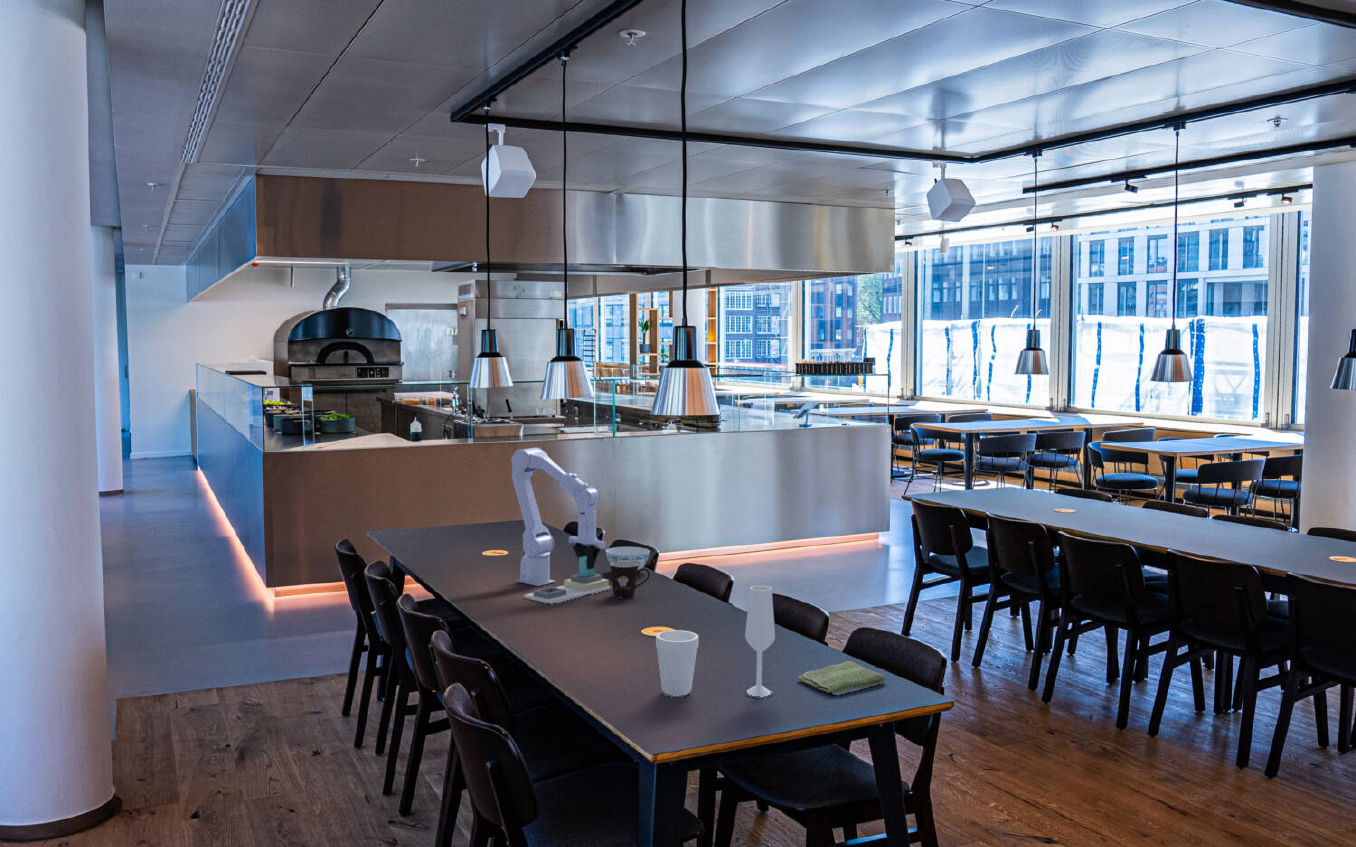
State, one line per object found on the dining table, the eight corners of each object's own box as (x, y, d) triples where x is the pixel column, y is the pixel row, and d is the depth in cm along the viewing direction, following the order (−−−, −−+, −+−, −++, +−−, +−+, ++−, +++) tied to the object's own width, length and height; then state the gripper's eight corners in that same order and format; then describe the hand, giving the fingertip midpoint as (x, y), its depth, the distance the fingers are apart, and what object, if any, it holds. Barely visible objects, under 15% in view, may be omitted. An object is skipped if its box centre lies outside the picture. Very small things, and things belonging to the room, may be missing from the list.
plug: (578, 575, 325) (578, 557, 324) (587, 573, 328) (587, 555, 328) (585, 577, 323) (585, 558, 323) (594, 575, 326) (594, 556, 326)
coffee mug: (604, 597, 316) (605, 565, 315) (619, 591, 324) (619, 560, 323) (637, 601, 311) (637, 569, 310) (651, 596, 318) (651, 564, 318)
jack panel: (524, 597, 313) (524, 583, 313) (584, 583, 333) (584, 570, 333) (551, 604, 306) (551, 589, 305) (611, 589, 326) (611, 575, 326)
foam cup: (696, 686, 233) (697, 630, 233) (698, 700, 224) (699, 641, 223) (655, 686, 233) (655, 630, 232) (655, 700, 224) (656, 641, 223)
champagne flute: (771, 688, 233) (774, 584, 231) (775, 698, 226) (778, 591, 224) (742, 688, 232) (744, 584, 231) (745, 698, 226) (747, 591, 224)
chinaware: (652, 569, 357) (652, 547, 357) (646, 578, 342) (646, 555, 342) (609, 567, 359) (609, 546, 358) (602, 577, 344) (602, 554, 343)
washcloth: (794, 683, 238) (794, 669, 238) (850, 671, 248) (851, 658, 248) (831, 699, 227) (832, 685, 227) (889, 686, 237) (890, 673, 237)
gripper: (612, 526, 323) (611, 569, 324) (579, 521, 332) (579, 562, 333) (596, 529, 317) (596, 572, 318) (564, 524, 327) (563, 565, 327)
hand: (586, 567), depth 325 cm, fingers closed on plug, 3 cm apart
